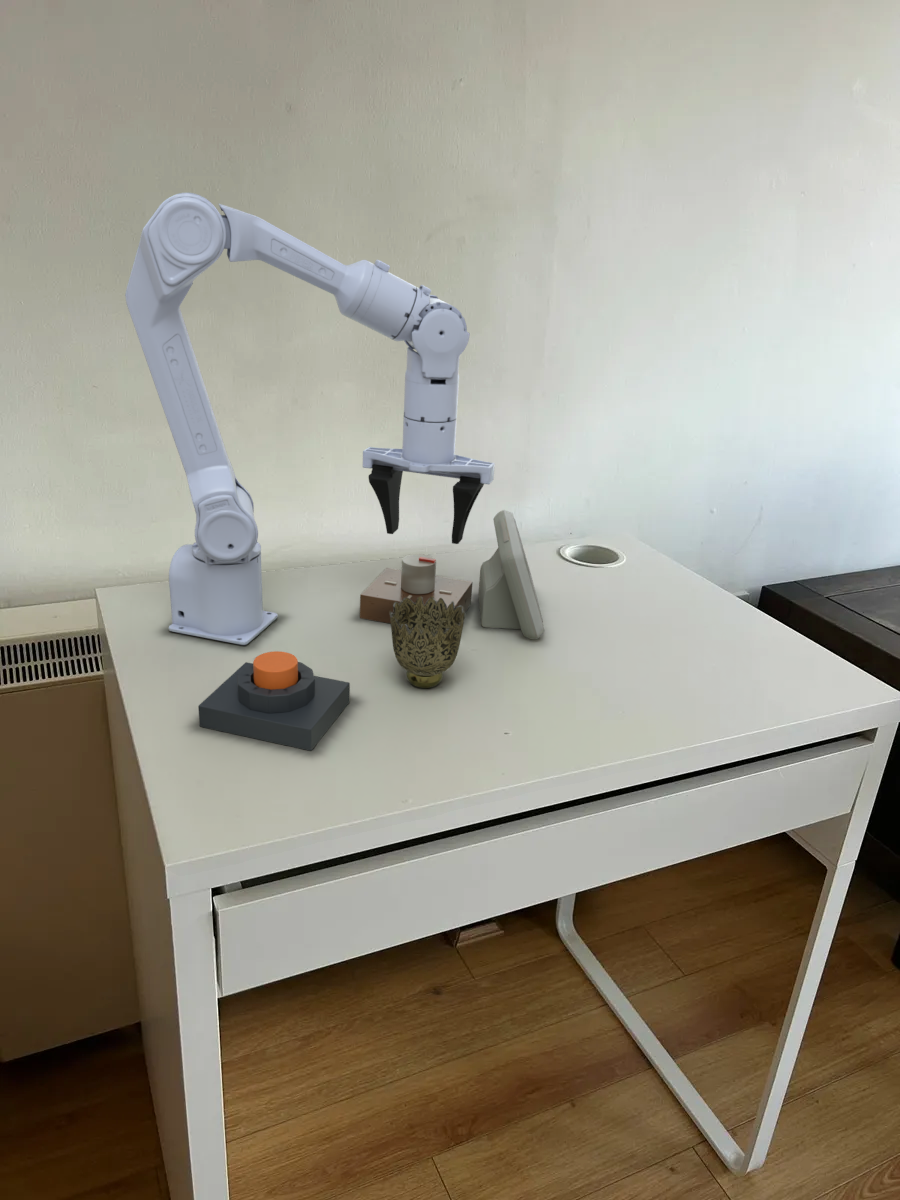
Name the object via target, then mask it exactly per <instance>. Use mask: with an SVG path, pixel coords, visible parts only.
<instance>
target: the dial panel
mask: <svg viewBox="0 0 900 1200" xmlns="http://www.w3.org/2000/svg"><path fill="white" fill-rule="evenodd" d="M472 592H473V581H471V580H464V579H458V578H452V577H447V576H442V575H441V576H439V575H436V576H435V589H434V590H433V591H432V592H430V593H427V594H412V593H408V592H405V591H404V590H402V588H401V569H397V568H391V567H386V568H385V569H383V571H382V572H381V573H380V574H379V575H378V576H377V577H376V578H375V579H374V580H373V581H372V582H371V583H370V584H369V585H368V586H367V587H366V588H365V589H364V590H363V591H362V592H361V593H360V595H359V596H360V597H359V619H363V620H368V621H373V622H378V623H385V624H390V625H391V620H390V613H389V612H390V611H391V613H393V604H394V602H398V603H399V604H400V602H401V601H402V600H403V599H404V598H405V597H407V598H409V599H411V600H412V602H413V603H414V602H415V603H416V600H417V598H418V597H420V596H421V597H422V600H423V603H424V605H425V604H426V602H427V600H428V599H429V598H430V597H432V596H433V597H434V598H435V600H436V601H438V600H439V598H442V599H443V600H444V602H445V603H446V605H447V607H448V606H449V604H450V603H451V602H452V601H453V602H454V605H455V608H456V607H457V606H463V612H465V613H467V612H468V611H467V610H468V609H469V608H470V606H471V605H472V595H473V593H472Z"/></svg>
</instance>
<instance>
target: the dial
mask: <svg viewBox="0 0 900 1200" xmlns="http://www.w3.org/2000/svg"><path fill="white" fill-rule="evenodd" d="M400 570H401V588H402V590H404V591H405V592H408V593H412V594H427V593H430V592H432V591H433V590H434V589H435V576H437V574H436V573H437V559H436V557H434V556H432V555H430V554H426V553H410V554H407V555H403V557H402V558H401V569H400Z"/></svg>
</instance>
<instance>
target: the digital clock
mask: <svg viewBox="0 0 900 1200" xmlns="http://www.w3.org/2000/svg"><path fill="white" fill-rule="evenodd" d="M493 525H494V531H495V536H496V542H497V549H496V550H495V551H494V553H493V554H492V556H491V557H490V558H489V559H487V560H486V561H483V562H482V563H481V566H480V569H479V581H478V594H477V595H478V605H479V615H480V624H481V626H482V627H483V628H487V629H488V628H489V629H490V628H492V629H508V630H509V629H510V630H511V629H512V630H521V632H522V636H524V637H525V638H528V639H530V640H537V639H539V638H540V637H541V636H542V635H543V633H544V632H545V626H544V620H543V615H542V613H541V608H540V604H539V600H538V597H537V593H536V588H535V584H534V580H533V577H532V573H531V570H530V567H529V566H530V565H529V563H528V562H529V561H528V560H527V556H526V552H525V549H524V546H523V542H522V538H521V535H520V531H519V528H518V526H517V522H516V518H515V516H514V513H513V512H511V511H508V510H505V509H502V510H500V511H498V512H497V513H496V514H495V516H494V517H493Z"/></svg>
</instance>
